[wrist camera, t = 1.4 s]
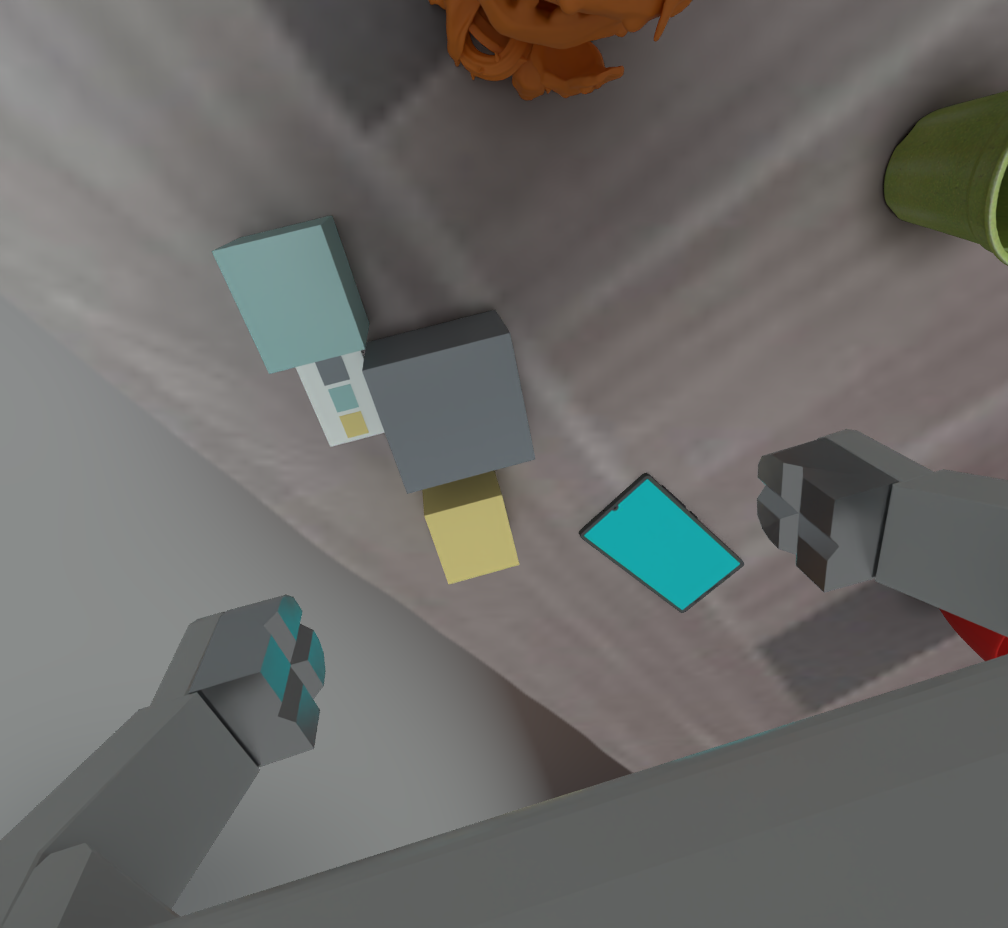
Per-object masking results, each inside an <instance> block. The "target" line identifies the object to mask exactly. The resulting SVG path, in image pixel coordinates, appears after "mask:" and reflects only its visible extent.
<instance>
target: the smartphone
mask: <svg viewBox="0 0 1008 928" xmlns="http://www.w3.org/2000/svg"><path fill="white" fill-rule="evenodd" d="M579 534H580V536H581V538H582V539H583V540H584V541H586V542H587V543H588V544H590V545H591V546H592V547H594V548H595V549H596V550H598V551H599V552H600V553H602V554H603V555H604V556H606V557H607V558H608V559H610V560H611V561H612V562H614V563H615V564H616V565H618V566H619V567H620V568H622V569H623V570H624V571H626V572H627V573H628V574H630V575H631V576H632V577H634V578H635V579H636V580H638V581H639V582H640V583H642V584H643V585H644V586H646V587H647V588H648V589H650V590H651V591H653V592H654V593H655V594H657V595H658V596H659V597H661V598H662V599H663V600H665V601H666V602H667V603H669V604H670V605H671V606H673V607H674V608H675V609H677V610H678V611H679V612H681V613H684V612H686V611H687V610H688V609H690V608H691V607H692V606H694V605H695V604H696V603H697V602H699V601H700V600H701V599H702V598H704V597H705V596H706V595H707V594H709V593H710V592H711V591H712V590H714V589H715V588H716V587H718V586H719V585H720V584H721V583H723V582H724V581H725V580H726V579H728V578H729V577H730V576H731V575H733V574H734V573H735V572H736V571H738V570H739V569H740V568H741V567H743V566H744V562H743V561H742V560H741V559H740V558H739V557H738V556H737V555H736V554H735V553H734V552H733V551H731V550H730V549H729V548H728V547H727V546H726V545H725V544H724V543H723V542H722V541H721V540H720V539H718V538H717V537H716V536H715V535H714V534H713V533H712V532H711V531H710V530H709V529H708V528H707V527H705V526H704V525H703V524H702V523H701V522H700V521H699V520H698V519H697V517H696V516H695V515H694V514H693V513H692V512H691V511H690V512H689V511H688V510H687V509H686V506H684V505H683V504H682V503H681V502H680V501H679V500H678V499H677V498H676V497H675V496H674V495H673V494H671V493H670V492H669V491H668V490H667V489H666V488H665V487H664V486H663V485H662V486H661V485H660V484H659V483H658V482H657V481H656V480H654V479H653V478H652V477H651V476H650V475H649V474H648V473H644V474H642V475H641V476H640V477H639V478H638V479H637V480H636V481H635V482H633V483H632V484H631V485H630V486H629V487H628V488H627V489H626V490H624V491H623V492H622V493H621V494H620V495H619V496H618V497H617V498H616V499H614V500H613V501H612V502H611V503H610V504H609V505H608V506H607V507H605V511H604V512H602V511H601V512H600V513H599V514H598V515H596V516H595V517H594V518H593V519H592V520H591V521H590V522H589V523H588V524H586V525H585V526H584V527H583V528H582V529H581V530H580V531H579Z"/></svg>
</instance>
